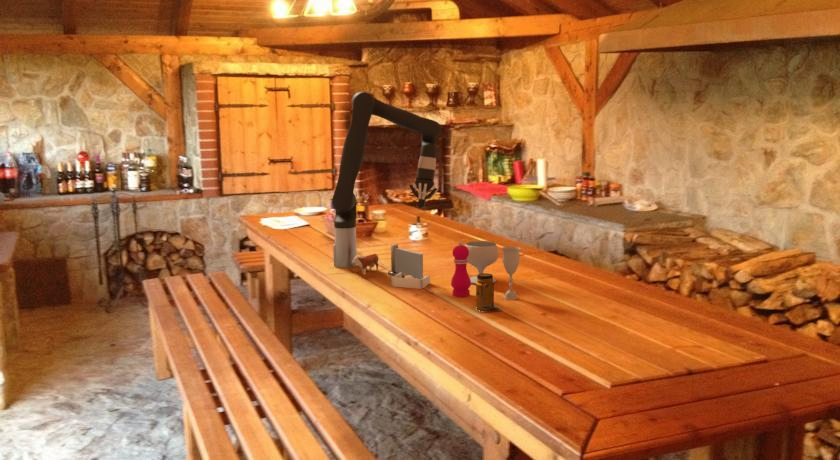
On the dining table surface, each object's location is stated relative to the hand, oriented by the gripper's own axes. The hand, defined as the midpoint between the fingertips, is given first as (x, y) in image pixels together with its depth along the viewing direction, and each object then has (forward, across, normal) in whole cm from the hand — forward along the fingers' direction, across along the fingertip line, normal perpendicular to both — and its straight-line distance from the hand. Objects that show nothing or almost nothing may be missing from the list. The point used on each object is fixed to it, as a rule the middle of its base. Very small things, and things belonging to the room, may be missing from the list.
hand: (421, 208), depth 306 cm
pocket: (+29, +10, -30) cm, 43 cm away
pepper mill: (+28, +33, -40) cm, 59 cm away
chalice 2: (+26, +51, -38) cm, 69 cm away
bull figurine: (+30, -14, -17) cm, 37 cm away
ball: (+29, +10, -32) cm, 44 cm away
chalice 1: (+25, +35, -18) cm, 46 cm away
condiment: (+29, +47, -54) cm, 77 cm away
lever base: (+28, -2, -15) cm, 32 cm away
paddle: (+27, +5, -20) cm, 34 cm away
